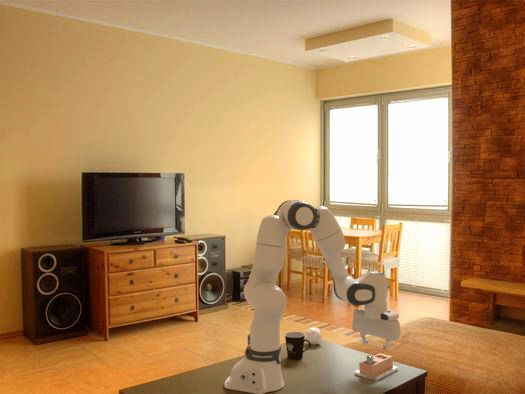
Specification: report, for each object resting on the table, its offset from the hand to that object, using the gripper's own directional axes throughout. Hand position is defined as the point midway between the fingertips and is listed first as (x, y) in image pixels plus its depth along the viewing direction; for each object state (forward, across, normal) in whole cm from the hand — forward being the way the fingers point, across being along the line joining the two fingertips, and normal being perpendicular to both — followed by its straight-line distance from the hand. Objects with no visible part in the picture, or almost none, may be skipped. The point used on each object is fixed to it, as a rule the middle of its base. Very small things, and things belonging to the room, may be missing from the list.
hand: (375, 346), depth 212 cm
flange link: (+9, 0, 0) cm, 9 cm away
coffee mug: (+11, -34, -8) cm, 37 cm away
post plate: (+10, 0, +1) cm, 10 cm away
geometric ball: (+11, -42, +13) cm, 45 cm away
